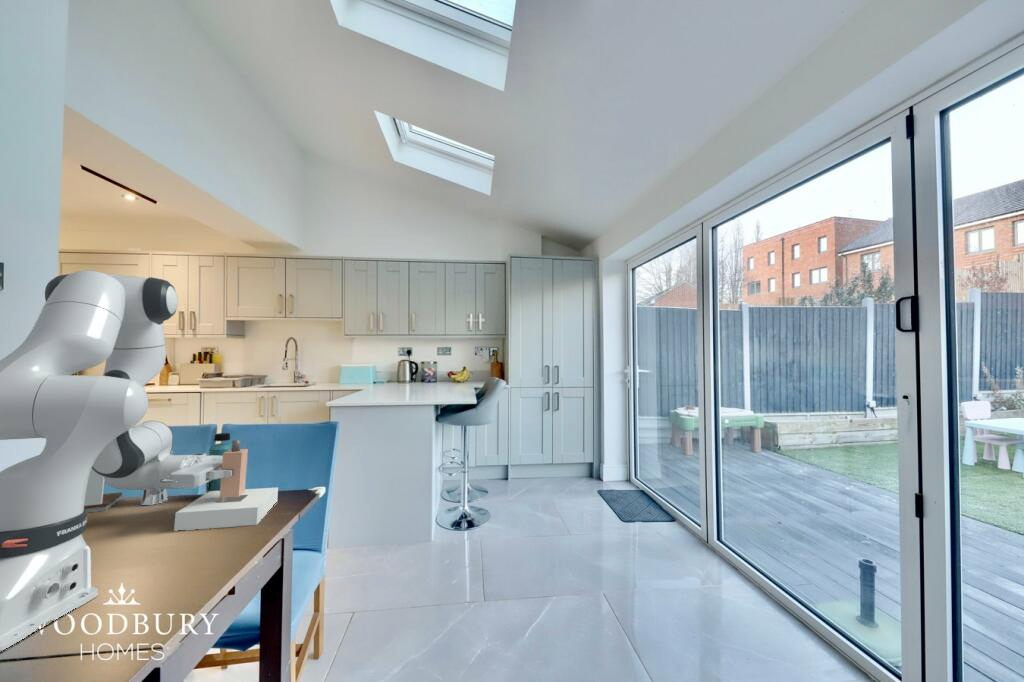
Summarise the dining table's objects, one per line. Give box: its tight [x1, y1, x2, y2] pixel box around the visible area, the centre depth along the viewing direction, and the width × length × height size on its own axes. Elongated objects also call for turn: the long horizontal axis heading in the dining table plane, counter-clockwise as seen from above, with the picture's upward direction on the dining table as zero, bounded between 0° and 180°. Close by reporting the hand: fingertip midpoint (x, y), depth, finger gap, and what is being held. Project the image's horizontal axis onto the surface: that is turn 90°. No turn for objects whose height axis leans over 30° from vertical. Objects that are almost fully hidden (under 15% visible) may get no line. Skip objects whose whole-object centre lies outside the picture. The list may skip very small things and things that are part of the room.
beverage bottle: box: [205, 432, 232, 494], centre depth 123 cm, size 6×7×20 cm
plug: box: [220, 439, 249, 498], centre depth 109 cm, size 4×4×15 cm
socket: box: [173, 487, 279, 532], centre depth 108 cm, size 18×18×4 cm
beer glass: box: [139, 449, 174, 506], centre depth 117 cm, size 7×7×15 cm
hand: (237, 470), depth 109 cm, fingers closed on plug, 5 cm apart
